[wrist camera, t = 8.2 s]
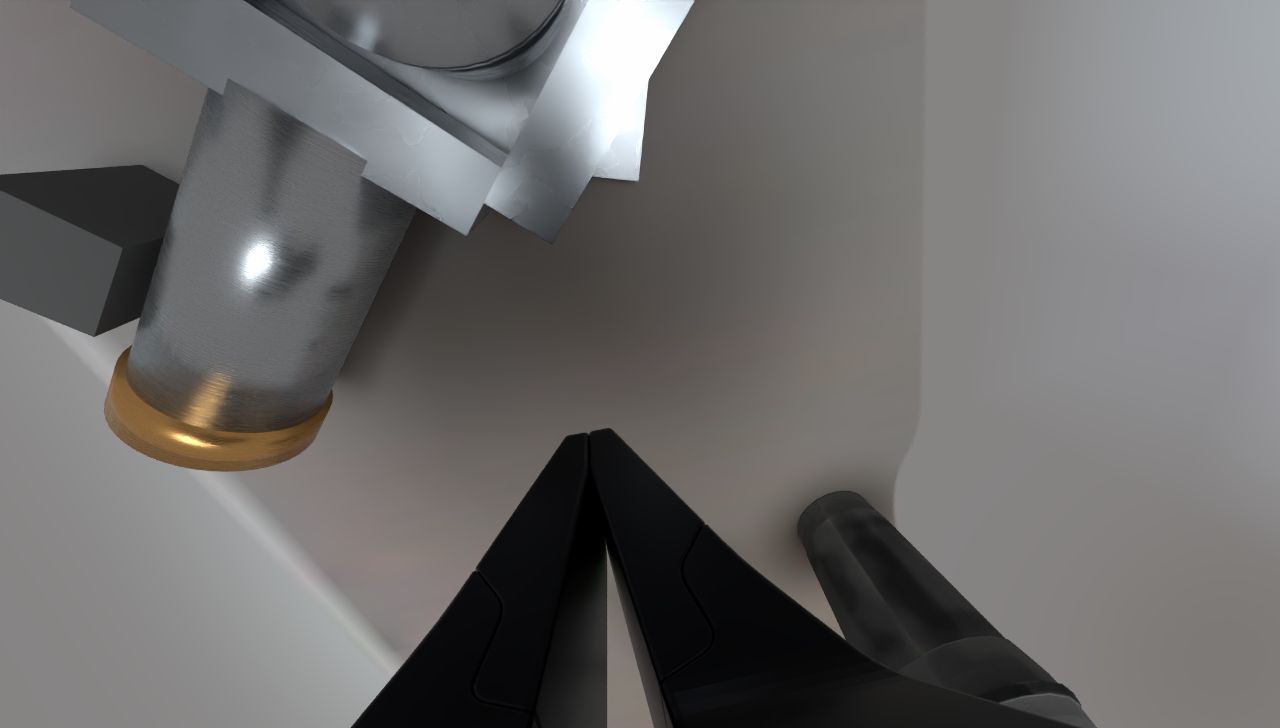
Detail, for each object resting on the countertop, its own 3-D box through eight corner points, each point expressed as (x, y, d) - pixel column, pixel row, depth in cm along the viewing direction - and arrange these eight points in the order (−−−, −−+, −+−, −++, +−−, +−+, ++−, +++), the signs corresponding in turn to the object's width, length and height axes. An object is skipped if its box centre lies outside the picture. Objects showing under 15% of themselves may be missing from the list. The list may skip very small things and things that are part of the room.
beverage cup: (770, 571, 29) (1085, 1241, 12) (781, 480, 26) (1245, 1220, 8) (877, 554, 30) (1326, 1156, 12) (901, 465, 27) (1558, 1107, 9)
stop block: (141, 164, 16) (-29, 176, 11) (241, 217, 17) (122, 248, 12) (117, 240, 16) (-49, 278, 12) (213, 285, 17) (94, 336, 13)
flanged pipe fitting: (289, -636, 9) (-12, -1483, 4) (750, -122, 14) (851, -262, 9) (70, 294, 16) (-147, 363, 11) (427, 438, 20) (385, 532, 15)
